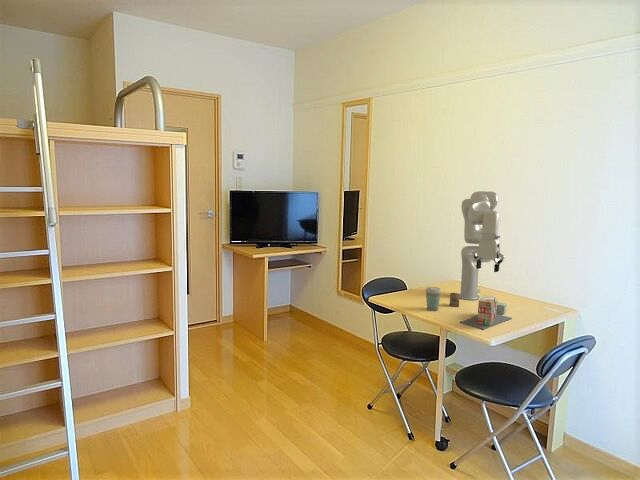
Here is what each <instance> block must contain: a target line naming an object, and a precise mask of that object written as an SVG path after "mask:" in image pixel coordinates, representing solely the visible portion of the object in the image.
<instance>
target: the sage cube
mask: <svg viewBox="0 0 640 480" xmlns="http://www.w3.org/2000/svg"><path fill="white" fill-rule="evenodd" d="M507 310H508V304H507V302H506V303H505V302H498V301H497V314H499V315H503V316H505V314H507Z"/></svg>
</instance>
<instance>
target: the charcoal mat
mask: <svg viewBox="0 0 640 480" xmlns="http://www.w3.org/2000/svg"><path fill="white" fill-rule="evenodd" d="M477 319H478V315H476V316H472V317H470V318H467V319H463V320H461V321H459V323H460V324H463V325H467V326H470V327H472V328H476V329H480V330H483V331H484V330H486V329H488V328H492V327H494V326H496V325H500V324H502V323H505V322H508V321H510V320H512V319H513V317H510V316H507V315H503V314H498V313H497V315H496V316H495V318H494V320H493V322H492V324H491V325H490V326H487V325H480V324H477Z"/></svg>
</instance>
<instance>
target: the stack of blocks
mask: <svg viewBox="0 0 640 480" xmlns="http://www.w3.org/2000/svg"><path fill="white" fill-rule="evenodd" d="M497 302H498V297H496V296H495V295H489V294H482V295H481V297H480V298H479V299H478V307H477V316H478V319H477V324H480V325H487V326H490V325H491V324H492V322H493V320H494V318H495V316H496V315H497V314H498V313H497Z"/></svg>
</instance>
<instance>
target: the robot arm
mask: <svg viewBox="0 0 640 480" xmlns="http://www.w3.org/2000/svg"><path fill="white" fill-rule="evenodd" d="M498 202H499V197H498V193H496V192H495V191H486V190H485V191H484V190H481V191H479V190H478V191H474V192H473V193H472V194H471V195H470V198H465V199H463V200H462V202H461V205H460V206H461V212H462V216H463V218H464V219H463V220H464V225H463V227H464V235H463V237H464V238H463V239H464V242H465V243H467V244H470V245H467V246H464V247H462V249H461V252H460V253H461V254H460V256H461V276H460V277H461V279H460V293H459V299H463V300H467V301H476V300H480V298H481V297H480V295H478V294H479V293H481V290H480V289H478V284H479V270H480V269H481V268H482V263H490V262H491V261H493V262H494V263H495V264H494V266H493V267H494V269H493V272H494V273H498V272H499V271H500V265H501V263H503V262H504V260H505V258H506V256H505V255H504V254H502V253H501V244H500V238H501V236H500V235H499V225H500V223H499V222H500V215H499V213H498V211H496V210H495V208H496V207H497V206H498ZM480 226H482V227H480ZM471 244H473V245H471ZM476 245H477V246H476Z"/></svg>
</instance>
